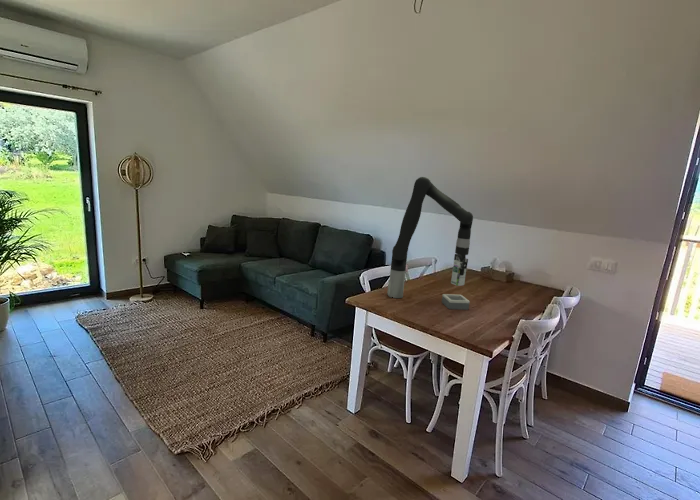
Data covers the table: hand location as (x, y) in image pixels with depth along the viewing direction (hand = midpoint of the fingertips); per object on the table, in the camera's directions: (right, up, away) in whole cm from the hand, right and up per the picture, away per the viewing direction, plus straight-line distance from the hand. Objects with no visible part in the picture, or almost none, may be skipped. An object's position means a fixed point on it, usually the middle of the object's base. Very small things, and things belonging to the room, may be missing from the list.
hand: (458, 273), depth 219 cm
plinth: (-1, -20, +4) cm, 20 cm away
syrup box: (-1, -7, +1) cm, 7 cm away
